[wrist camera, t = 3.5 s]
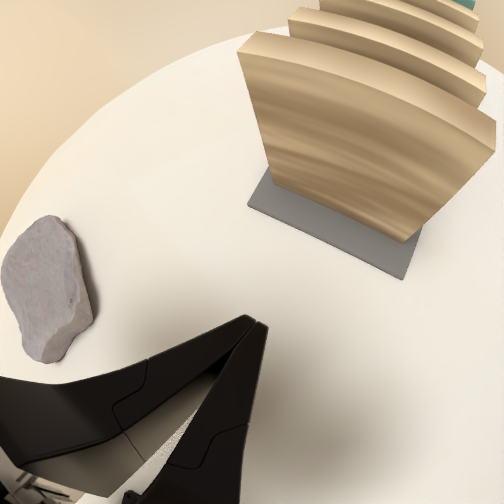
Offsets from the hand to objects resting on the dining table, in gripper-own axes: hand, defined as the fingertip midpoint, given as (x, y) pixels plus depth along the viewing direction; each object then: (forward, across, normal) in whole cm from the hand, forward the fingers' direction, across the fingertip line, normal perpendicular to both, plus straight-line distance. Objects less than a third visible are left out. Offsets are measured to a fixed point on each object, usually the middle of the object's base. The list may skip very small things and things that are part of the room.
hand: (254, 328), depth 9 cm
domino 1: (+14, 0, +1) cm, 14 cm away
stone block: (+2, +19, +13) cm, 23 cm away
